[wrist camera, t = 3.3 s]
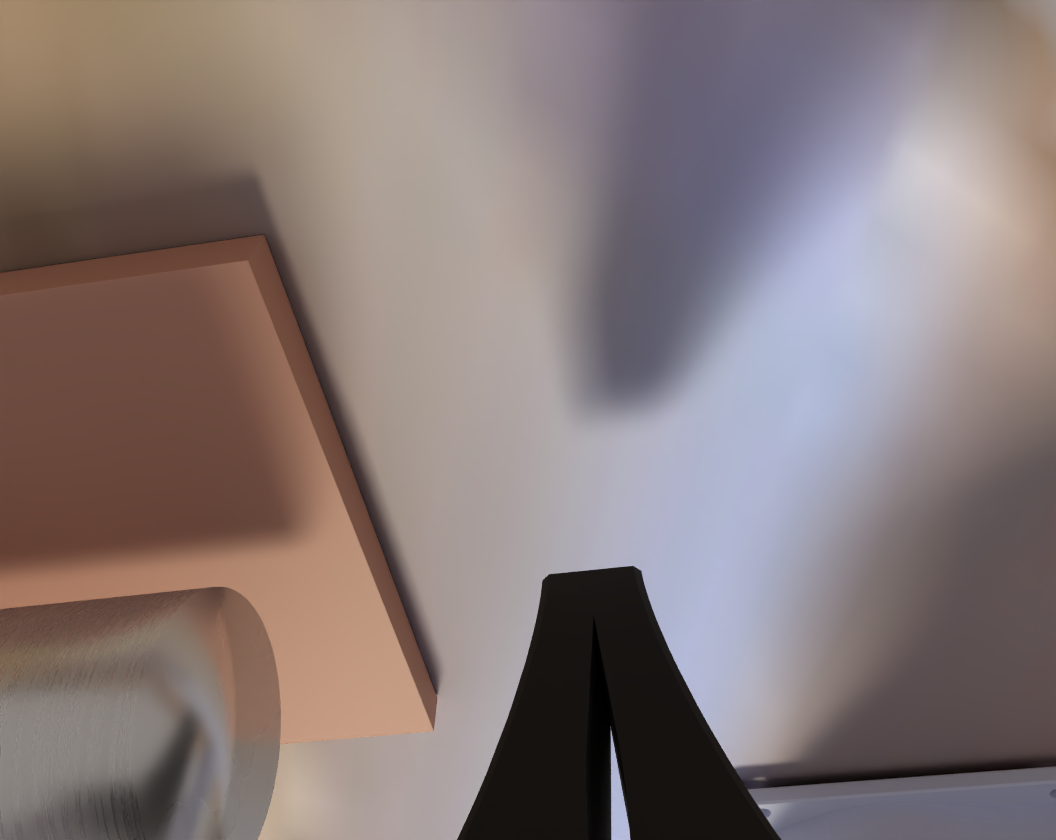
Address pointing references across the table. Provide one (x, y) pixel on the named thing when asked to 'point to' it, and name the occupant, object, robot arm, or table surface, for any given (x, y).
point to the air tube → (137, 718)
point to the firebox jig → (198, 472)
